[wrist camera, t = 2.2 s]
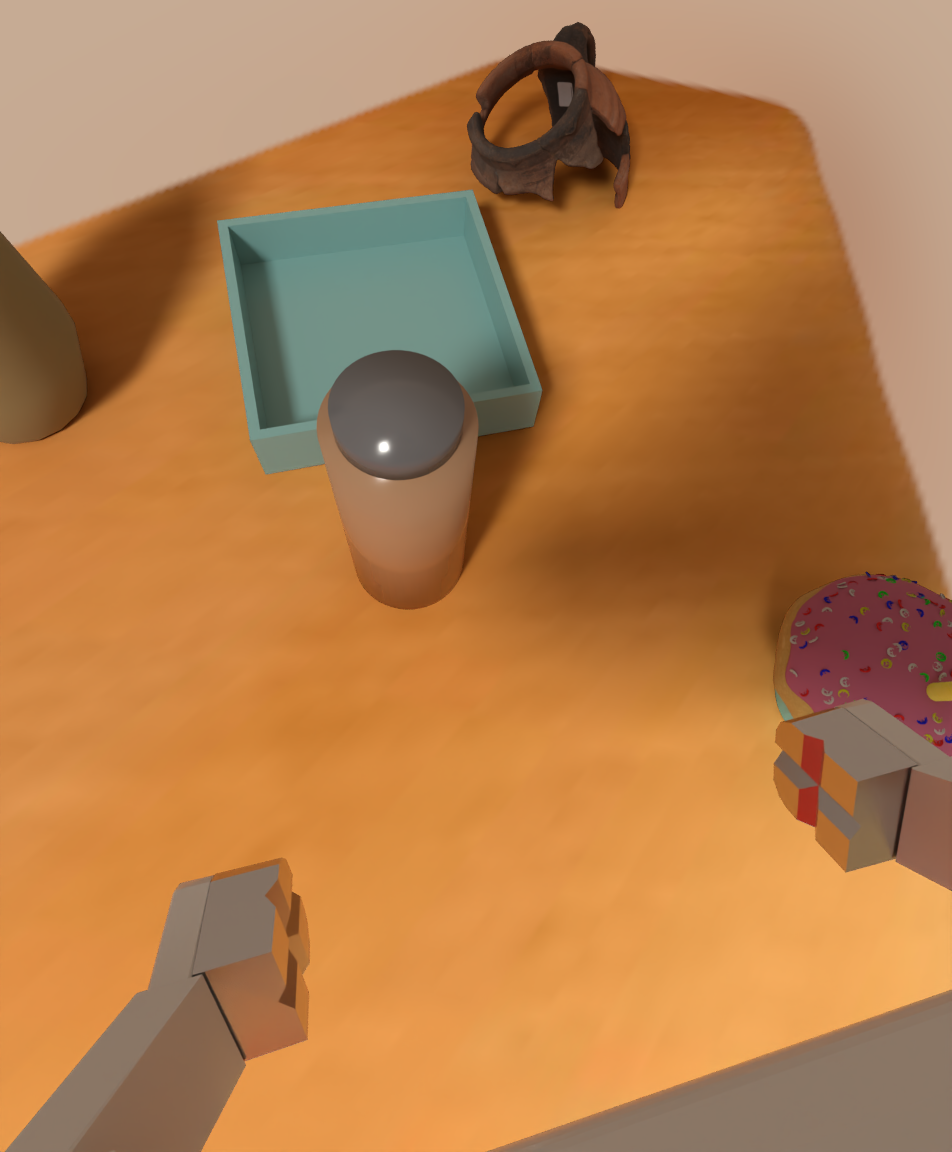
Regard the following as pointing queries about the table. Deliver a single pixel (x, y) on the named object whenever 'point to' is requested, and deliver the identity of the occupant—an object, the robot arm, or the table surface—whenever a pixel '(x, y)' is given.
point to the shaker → (401, 473)
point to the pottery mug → (554, 118)
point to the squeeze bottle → (35, 355)
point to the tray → (368, 312)
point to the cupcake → (869, 653)
